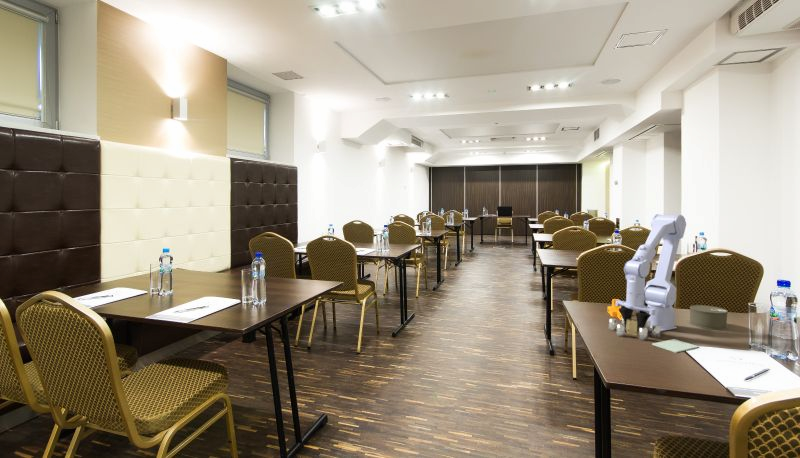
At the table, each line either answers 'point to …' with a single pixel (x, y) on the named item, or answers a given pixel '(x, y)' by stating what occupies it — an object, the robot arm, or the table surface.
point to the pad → (674, 345)
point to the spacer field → (642, 330)
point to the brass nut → (631, 326)
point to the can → (708, 317)
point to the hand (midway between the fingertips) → (633, 329)
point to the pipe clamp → (614, 309)
